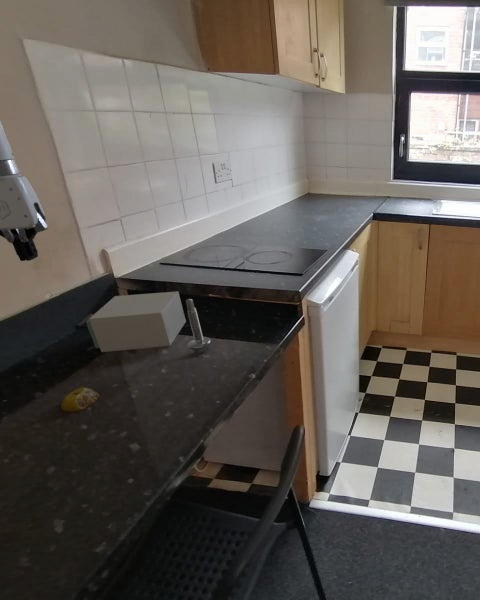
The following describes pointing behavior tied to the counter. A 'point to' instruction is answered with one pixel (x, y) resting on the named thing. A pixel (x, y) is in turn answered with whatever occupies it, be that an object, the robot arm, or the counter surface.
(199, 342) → the screw
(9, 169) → the robot arm
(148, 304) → the pale grey box
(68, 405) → the fruit
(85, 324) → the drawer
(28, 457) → the counter surface
